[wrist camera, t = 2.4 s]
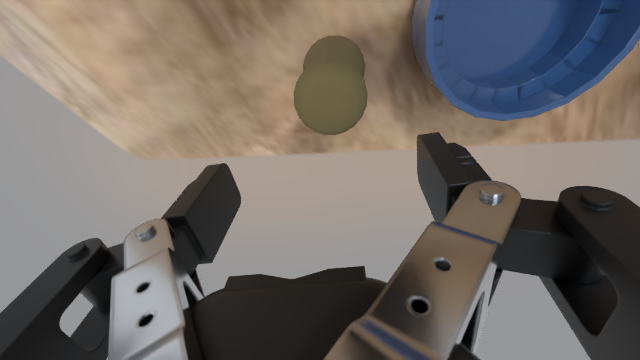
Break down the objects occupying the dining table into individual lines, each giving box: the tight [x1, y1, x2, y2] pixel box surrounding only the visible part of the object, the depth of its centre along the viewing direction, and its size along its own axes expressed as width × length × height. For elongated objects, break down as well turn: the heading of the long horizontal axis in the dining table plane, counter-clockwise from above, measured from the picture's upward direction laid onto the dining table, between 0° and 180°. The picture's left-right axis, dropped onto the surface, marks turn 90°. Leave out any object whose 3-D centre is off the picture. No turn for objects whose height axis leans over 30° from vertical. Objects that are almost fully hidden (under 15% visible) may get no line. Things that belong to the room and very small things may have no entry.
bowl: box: [412, 0, 640, 121], centre depth 22 cm, size 15×15×6 cm
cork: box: [294, 36, 367, 135], centre depth 23 cm, size 6×6×11 cm
